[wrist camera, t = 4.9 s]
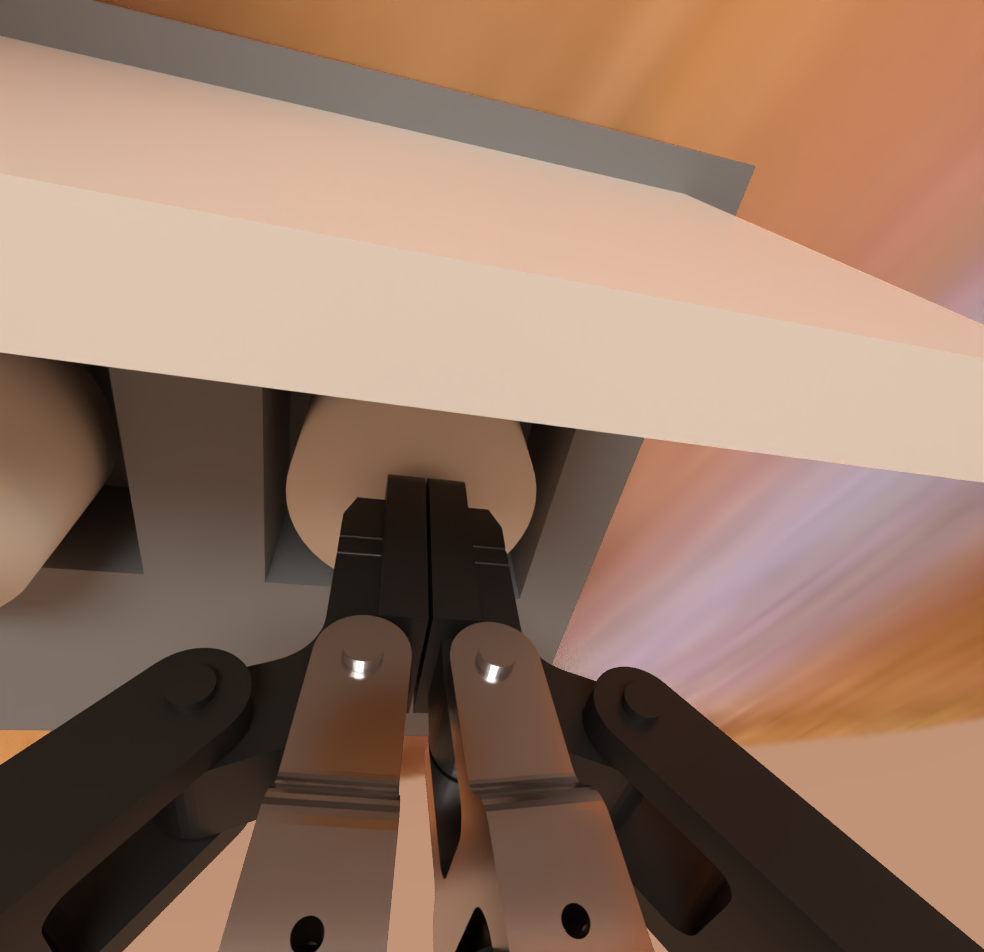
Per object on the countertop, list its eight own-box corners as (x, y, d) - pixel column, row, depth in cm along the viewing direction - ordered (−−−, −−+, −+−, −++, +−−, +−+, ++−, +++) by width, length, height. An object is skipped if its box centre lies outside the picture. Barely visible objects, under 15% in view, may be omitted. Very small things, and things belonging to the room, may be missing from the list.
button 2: (537, 348, 13) (564, 410, 11) (493, 516, 16) (507, 596, 14) (313, 312, 12) (287, 372, 10) (305, 499, 15) (284, 581, 12)
